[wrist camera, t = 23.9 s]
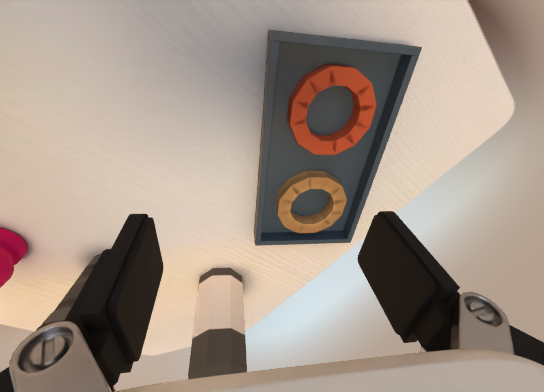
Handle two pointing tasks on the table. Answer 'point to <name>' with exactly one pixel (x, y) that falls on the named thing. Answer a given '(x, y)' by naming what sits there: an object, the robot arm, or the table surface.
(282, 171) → the tray
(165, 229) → the table surface
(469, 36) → the table surface
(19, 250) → the pepper mill
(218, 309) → the wine bottle
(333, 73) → the terracotta ring
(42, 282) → the table surface
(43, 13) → the table surface
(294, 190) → the birch ring
